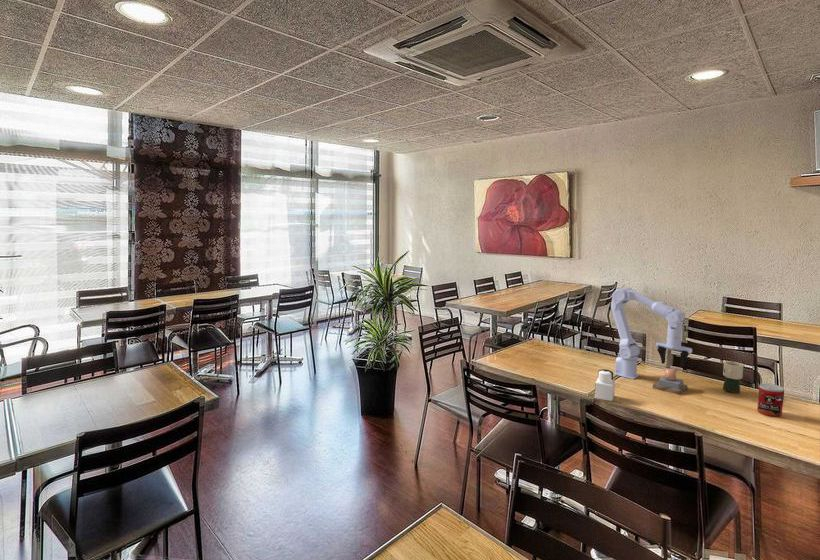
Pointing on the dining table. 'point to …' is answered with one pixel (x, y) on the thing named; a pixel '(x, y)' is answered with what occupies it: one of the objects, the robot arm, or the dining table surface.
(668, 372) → the egg
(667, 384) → the top slab
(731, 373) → the character mug
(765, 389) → the canned food
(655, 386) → the base slab
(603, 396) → the medicine bottle
